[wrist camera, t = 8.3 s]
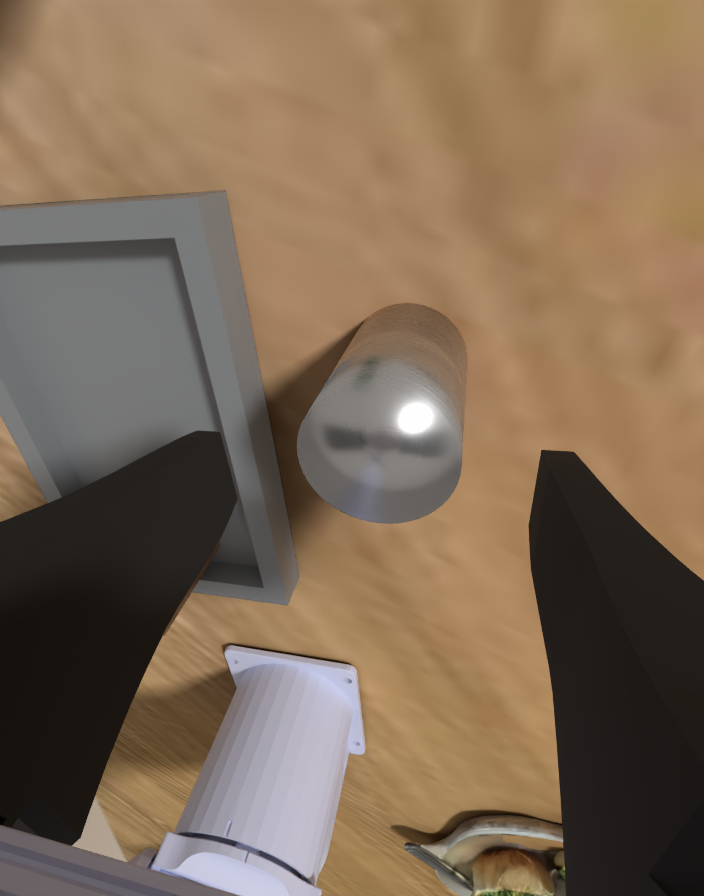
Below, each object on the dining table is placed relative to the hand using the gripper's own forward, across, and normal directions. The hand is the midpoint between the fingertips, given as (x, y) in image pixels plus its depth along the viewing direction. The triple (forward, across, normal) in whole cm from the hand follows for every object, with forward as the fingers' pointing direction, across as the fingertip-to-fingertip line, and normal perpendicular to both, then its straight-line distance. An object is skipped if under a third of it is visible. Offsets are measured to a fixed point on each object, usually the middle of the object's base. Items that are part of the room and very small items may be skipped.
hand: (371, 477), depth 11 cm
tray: (+7, +11, +3) cm, 13 cm away
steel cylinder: (+7, 0, 0) cm, 7 cm away
